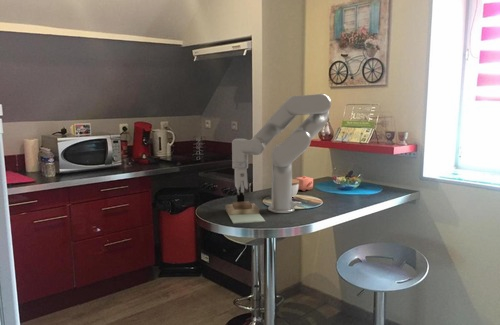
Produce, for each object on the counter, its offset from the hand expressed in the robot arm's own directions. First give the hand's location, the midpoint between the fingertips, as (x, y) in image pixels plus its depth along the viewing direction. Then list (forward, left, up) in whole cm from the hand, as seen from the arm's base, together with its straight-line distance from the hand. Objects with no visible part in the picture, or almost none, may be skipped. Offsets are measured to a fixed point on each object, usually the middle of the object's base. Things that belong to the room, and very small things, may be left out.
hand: (240, 202), depth 203 cm
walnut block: (0, +5, -1) cm, 5 cm away
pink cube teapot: (-44, -35, -4) cm, 56 cm away
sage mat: (0, +16, -3) cm, 16 cm away
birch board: (0, +4, -3) cm, 5 cm away
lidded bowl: (-29, -20, -4) cm, 35 cm away
